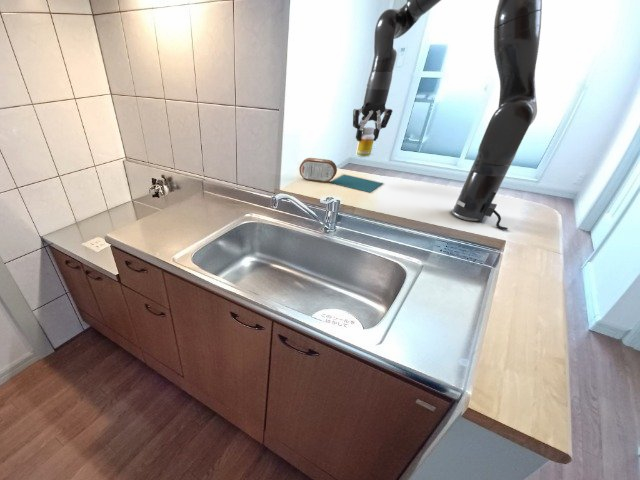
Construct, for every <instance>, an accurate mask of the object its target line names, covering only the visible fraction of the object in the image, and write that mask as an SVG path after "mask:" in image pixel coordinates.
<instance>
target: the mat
mask: <svg viewBox="0 0 640 480" xmlns="http://www.w3.org/2000/svg"><path fill="white" fill-rule="evenodd" d="M329 184H334V185H337V186H342V187H344V188H345V187H346V188H351V189H355V190H358V191H361V192H366V193H371V192H373V191H374V190H375V189H377V188H378V187H380V186H381V185H383V184H384V183H383V182H379V181H375V180H370V179H366V178H362V177H358V176H357V177H356V176H352V175H347V174H343V175H340V176H339V177H337V178H334V179H332V180H330V181H329Z"/></svg>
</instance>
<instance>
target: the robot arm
mask: <svg viewBox="0 0 640 480" xmlns="http://www.w3.org/2000/svg"><path fill="white" fill-rule="evenodd" d="M441 1H442V0H406V3H405V4H404V5H403V6H401V7H400V8H399V9H395V8H389V9H386V10H384V11H383V12H382V13H381V14H380V15H379V17H378V19H377V21H376V24H375V28H374V38H373V41H374V42H373V43H374V44H373V60H372V64H371V69H370V73H369V76H368V79H367V83H366V89H365V93H364V98H363V105H362V106H361V108H354V109H353V111H352V127H353V128H355V129H356V134H355V139H356V141H357V142H358V141H360V140H361V136H362V133H363V132H362V131H363V127H366V125H367V123H368V122H370V121H373V123H374V132H373V135H374V141H373V142H377V140H378V138H379V135H380V132H381V129H385V128H387V125H388V123H389V121H390V119H391V116H392V114H393V109H392V108H386V104H387V101H388V97H389V92H390V88H391V84H392V82H393V81H392V80H393V72H394V68H395V64H396V60H397V56H398V52H397V50H396V49H395V48H394V43H395V41H394V40H395V39H398V38H400V37H402V36H404V35H405V34H407V33H408V31H410V30H411V28H412V27H413V26H414V25H416V23H417V22H418V21H419V20H420V18H421V17H423V15H425V14H426V13H427V12H429V11H430V10H431V9H433V8H434V7H435V6H436V5H437V4H439V3H440V2H441ZM542 10H543V0H498V3H497V7H496V10H495V16H494V21H493V22H494V23H493V53H494V61H495V65H496V70H497V74H498V78H499V98H498V107H497V109H496V110H495V111H494V112H493V114H492V116H491V118H490V120H489V122H488V124H487V127H486V128H485V131H484V134H483V137H482V139H481V142H480V143H479V147H478V148H477V149H478V150H477V154H476V156H475V159H474V161H473V163H472V165H471V168H470V170H469V172H468V175H467V177H466V178H465V182H464V184H463V186H462V188H461V191H460V193H459V195H458V198H457V200H456V202H455V205H454V207H453V208H452V211H451V214H452V215H453V216H454V217H456V218H458V219H461V220H465V221H469V222H479V223H482V222H483V221H484V220H485V218H486V217H488V218H491V217H492V215H493V214H494V215H495V216H496V217H497V221H496V223H495V226H496V227H497V228H498V229H499V230H504V231H507V230H508V229H509V227H504V226H501V225H500V223H501V221H502V217H501V215H500V213H498V211H497V210H495V209H496V208H497V206H498V204H497V203H493V202H494V200H495V198H496V196H497V193H498V192H499V190H500V187H501V185H502V183H503V182H504V179H505V177H506V175H507V173H508V172H509V169H510V167H511V165H512V163H513V162H514V160H515V158H516V156H517V152H518V150H519V147H520V146H521V144H522V141H523V140H524V137H525V135H526V134H527V132H528V129H529V127H531V125H532V124H533V123H534V121H535V120H536V117H537V114H538V105H537V93H536V68H537V60H538V54H539V48H540V38H541V28H542ZM361 114H362V116H361ZM382 115H383V118H381V116H382ZM360 116H361V118H360Z"/></svg>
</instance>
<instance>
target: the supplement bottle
mask: <svg viewBox="0 0 640 480" xmlns="http://www.w3.org/2000/svg"><path fill="white" fill-rule="evenodd" d="M374 129H375V127H372V126H364V127H363V129H362V130H363V131H362V136H361V140H360V141H357V144H356V145H357V146H356V151H355V156H356V157H358V158H370V156H371V153H372V150H373V144H374V142H375V141H374V135H373V132H374Z"/></svg>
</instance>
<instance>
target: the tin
mask: <svg viewBox="0 0 640 480" xmlns="http://www.w3.org/2000/svg"><path fill="white" fill-rule="evenodd" d="M298 171H299V175H300V176H301V177H302V178H303V180H307V181H314V182H321V183H328V182H331V181H333V180H334V179H335V177H336V176H337V172H338V167H337V165H336V163H335V162H334V161H333V160H331V159H325V158H318V157H316V158H315V157H307V158H305V159H303V160H302V161H301V163H300V165H299V169H298Z"/></svg>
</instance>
